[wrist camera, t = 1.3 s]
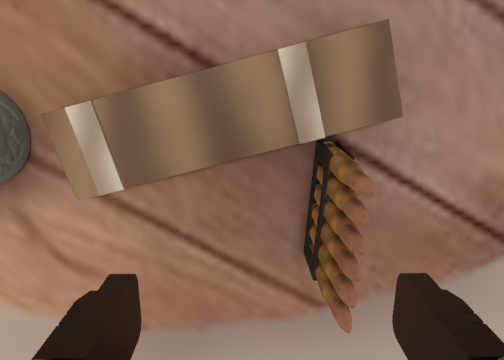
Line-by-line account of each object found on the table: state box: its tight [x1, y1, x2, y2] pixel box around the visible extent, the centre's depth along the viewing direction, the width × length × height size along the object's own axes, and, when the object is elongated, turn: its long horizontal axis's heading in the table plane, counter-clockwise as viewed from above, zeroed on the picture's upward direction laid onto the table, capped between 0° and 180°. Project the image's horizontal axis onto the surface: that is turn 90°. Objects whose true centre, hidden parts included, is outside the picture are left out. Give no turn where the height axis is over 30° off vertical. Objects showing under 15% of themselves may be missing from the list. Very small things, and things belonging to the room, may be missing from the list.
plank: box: [41, 19, 403, 201], centre depth 29 cm, size 26×7×3 cm, turn 105°
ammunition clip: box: [304, 139, 374, 333], centre depth 27 cm, size 11×2×12 cm, turn 176°
